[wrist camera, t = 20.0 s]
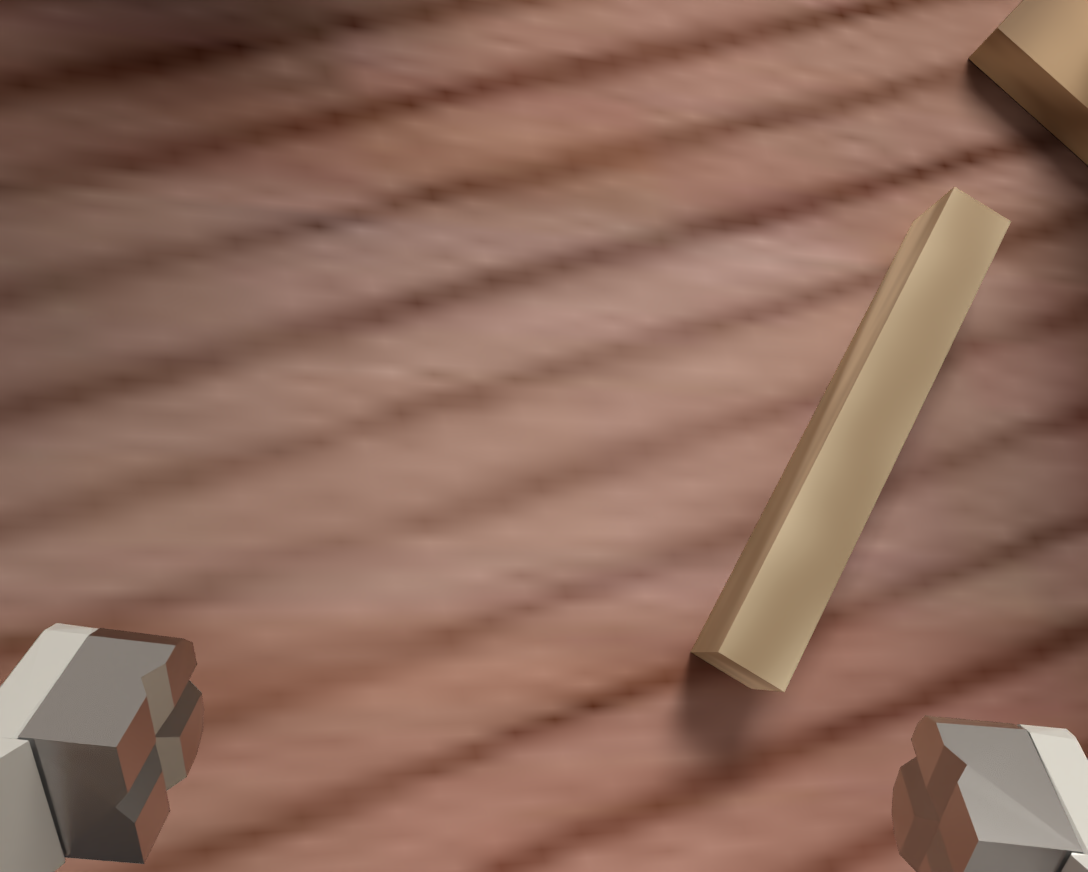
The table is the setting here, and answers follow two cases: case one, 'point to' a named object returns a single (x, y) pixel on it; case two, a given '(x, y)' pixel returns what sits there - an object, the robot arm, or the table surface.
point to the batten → (850, 446)
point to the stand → (1044, 65)
